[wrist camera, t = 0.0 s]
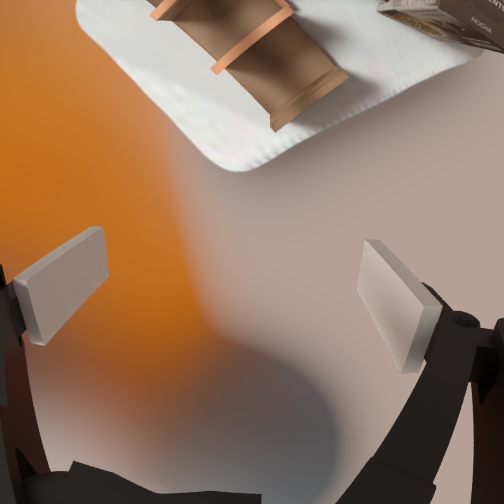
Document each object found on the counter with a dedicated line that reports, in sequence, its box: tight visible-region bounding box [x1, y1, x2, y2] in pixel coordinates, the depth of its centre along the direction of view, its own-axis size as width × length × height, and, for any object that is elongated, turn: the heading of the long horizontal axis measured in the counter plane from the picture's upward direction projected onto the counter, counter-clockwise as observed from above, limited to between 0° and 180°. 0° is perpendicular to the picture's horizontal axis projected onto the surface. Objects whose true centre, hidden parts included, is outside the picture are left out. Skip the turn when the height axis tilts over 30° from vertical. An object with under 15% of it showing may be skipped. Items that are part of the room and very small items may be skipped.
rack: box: [147, 0, 349, 132], centre depth 26 cm, size 11×27×7 cm, turn 42°
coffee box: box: [377, 0, 504, 54], centre depth 20 cm, size 9×6×16 cm
